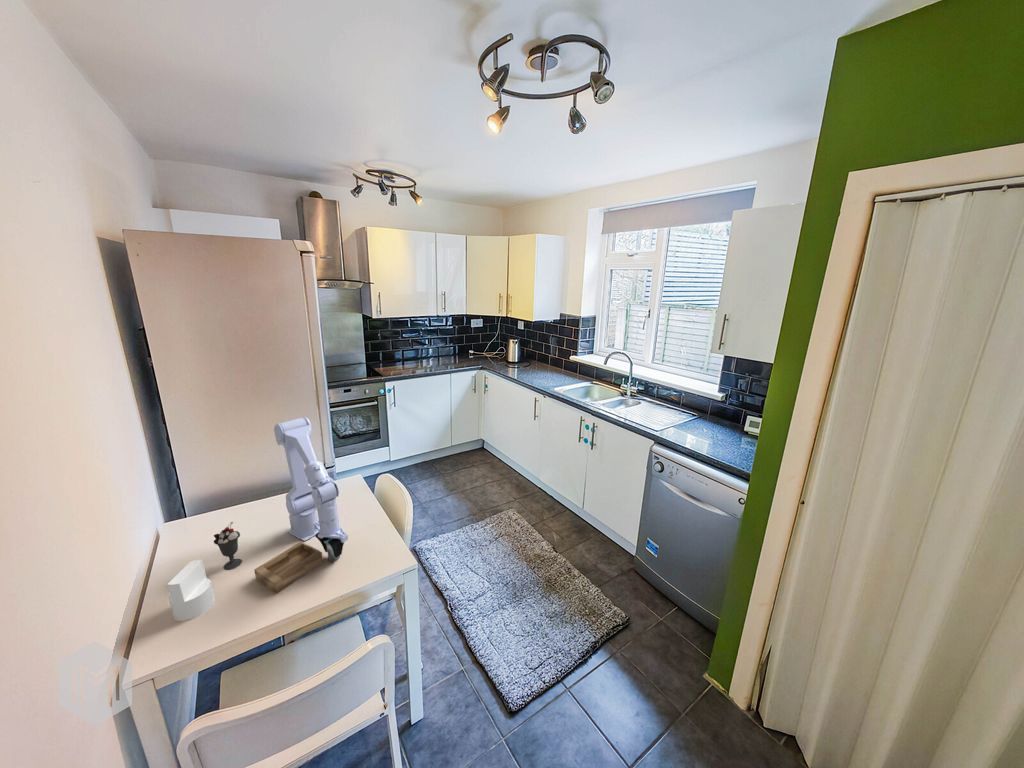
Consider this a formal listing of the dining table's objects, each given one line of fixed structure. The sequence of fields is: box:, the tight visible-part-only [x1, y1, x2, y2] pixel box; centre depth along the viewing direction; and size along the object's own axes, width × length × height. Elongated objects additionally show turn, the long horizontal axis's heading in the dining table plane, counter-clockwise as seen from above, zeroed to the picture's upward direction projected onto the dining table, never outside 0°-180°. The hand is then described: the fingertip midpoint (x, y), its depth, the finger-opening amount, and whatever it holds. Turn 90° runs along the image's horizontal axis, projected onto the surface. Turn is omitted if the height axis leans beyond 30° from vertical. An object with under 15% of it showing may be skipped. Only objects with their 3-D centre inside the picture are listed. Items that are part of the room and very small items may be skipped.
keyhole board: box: [253, 540, 324, 594], centre depth 119 cm, size 11×15×4 cm
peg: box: [324, 537, 341, 563], centre depth 124 cm, size 5×5×8 cm
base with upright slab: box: [167, 559, 216, 622], centre depth 104 cm, size 9×9×12 cm
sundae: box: [213, 521, 243, 571], centre depth 120 cm, size 7×7×15 cm
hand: (333, 552), depth 124 cm, fingers closed on peg, 4 cm apart
